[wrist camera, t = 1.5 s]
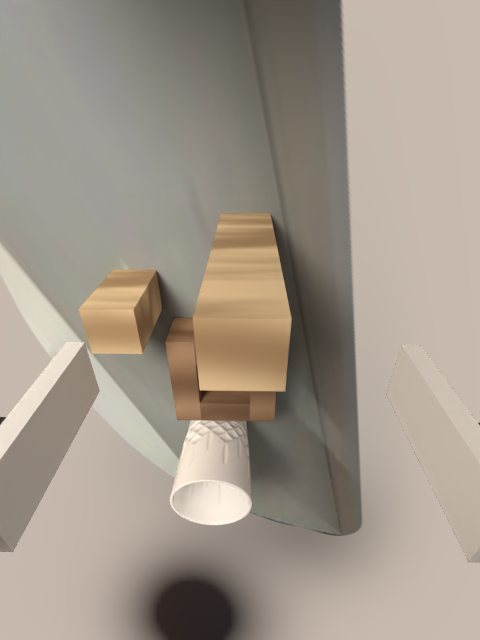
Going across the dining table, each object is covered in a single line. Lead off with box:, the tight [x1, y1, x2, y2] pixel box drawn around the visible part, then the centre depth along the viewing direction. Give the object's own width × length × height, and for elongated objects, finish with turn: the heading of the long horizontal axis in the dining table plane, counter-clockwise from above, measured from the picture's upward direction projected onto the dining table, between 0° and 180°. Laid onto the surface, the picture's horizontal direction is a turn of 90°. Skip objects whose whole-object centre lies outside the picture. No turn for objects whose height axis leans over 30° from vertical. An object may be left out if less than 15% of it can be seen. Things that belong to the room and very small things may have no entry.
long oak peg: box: [193, 214, 292, 391], centre depth 21 cm, size 4×4×16 cm
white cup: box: [170, 420, 252, 525], centre depth 36 cm, size 8×8×10 cm
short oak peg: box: [79, 270, 162, 354], centre depth 28 cm, size 4×4×7 cm
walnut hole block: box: [165, 318, 276, 421], centre depth 33 cm, size 10×10×4 cm
